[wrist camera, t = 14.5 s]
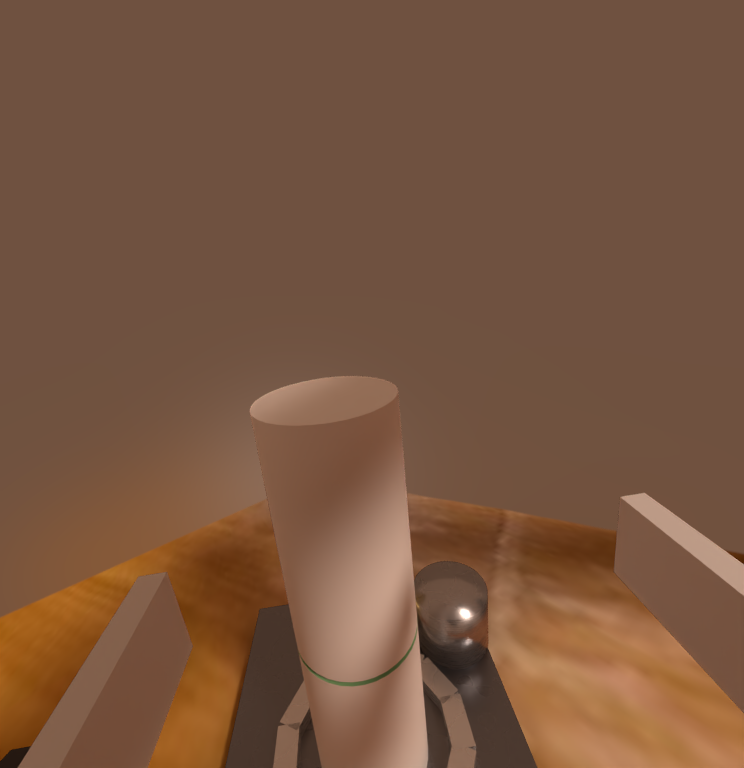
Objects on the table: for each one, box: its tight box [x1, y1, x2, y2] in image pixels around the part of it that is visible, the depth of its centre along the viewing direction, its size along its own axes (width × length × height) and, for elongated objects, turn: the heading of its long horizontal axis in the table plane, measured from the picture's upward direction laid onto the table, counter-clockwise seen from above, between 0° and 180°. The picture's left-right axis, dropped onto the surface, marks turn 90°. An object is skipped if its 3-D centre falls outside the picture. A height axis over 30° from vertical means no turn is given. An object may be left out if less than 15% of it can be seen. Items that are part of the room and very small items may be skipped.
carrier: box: [225, 561, 537, 768], centre depth 28 cm, size 20×20×8 cm
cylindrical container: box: [250, 376, 428, 768], centre depth 22 cm, size 7×7×25 cm
